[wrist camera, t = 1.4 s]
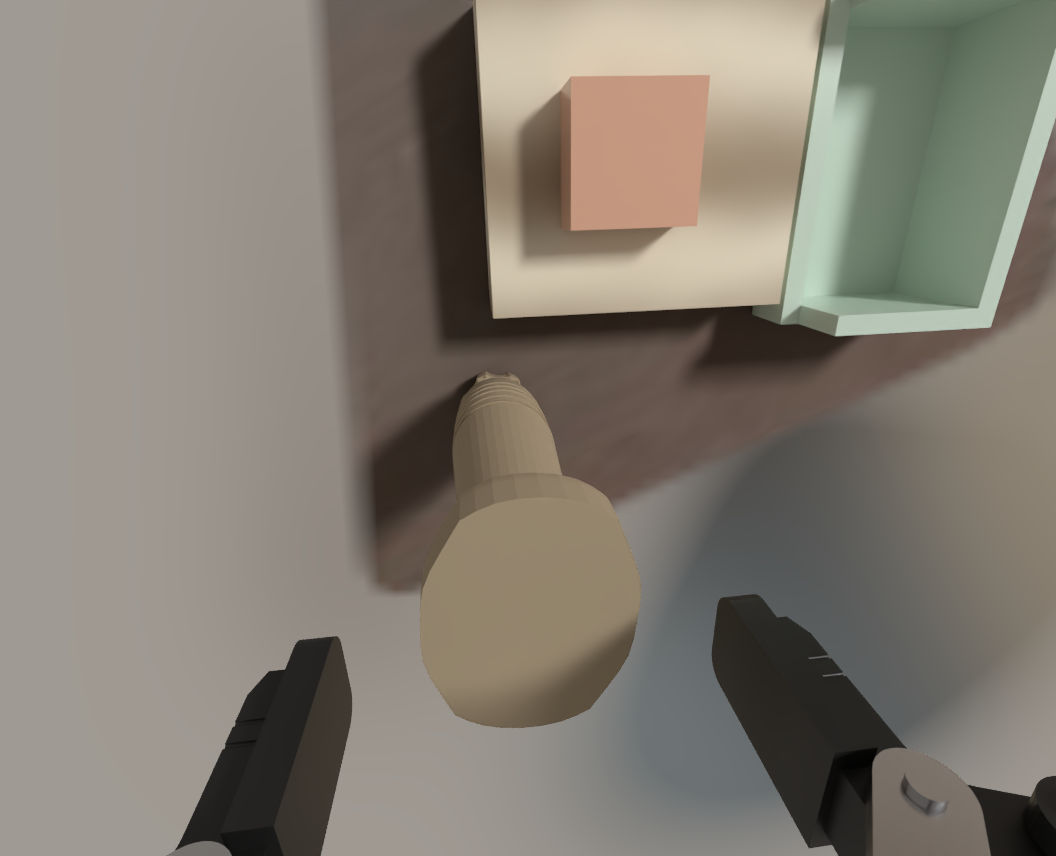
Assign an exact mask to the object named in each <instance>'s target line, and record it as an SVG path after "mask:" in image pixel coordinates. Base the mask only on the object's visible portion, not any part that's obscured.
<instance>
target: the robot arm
mask: <svg viewBox="0 0 1056 856" xmlns="http://www.w3.org/2000/svg"><path fill="white" fill-rule="evenodd" d="M712 662H713V667H714V671H715V675H716V678H717V680H718V682H719V684H720V686H721V688H722V690H723V691H724V693H725V695H726V697H727V699H728V701H729V703H730V704H731V706H732V708H733V710H734V712H735V714H736V715H737V717H738V719H739V721H740V722H741V725H742V726H743V728H744V730H745V732H746V734H747V735H748V737H749V739H750V741H751V743H752V745H753V747H754V748H755V750H756V752H757V754H758V756H759V757H760V759H761V761H762V763H763V765H764V767H765V769H766V770H767V772H768V774H769V776H770V778H771V779H772V781H773V783H774V785H775V787H776V789H777V791H778V792H779V794H780V796H781V798H782V800H783V801H784V803H785V805H786V807H787V809H788V811H789V812H790V814H791V816H792V818H793V820H794V821H795V823H796V825H797V827H798V829H799V831H800V833H801V835H802V836H803V838H804V840H805V842H806V844H807V845H808V847H809V848H813V847H820V846H827V845H833V847H834V849H835V850H836V852H837V854H838V856H1056V776H1051V777H1046V778H1044V779H1042V780H1040V781H1039V783H1038V784H1037V785H1036V788H1035V790H1034V792H1033V794H1032V796H1031V797H1028V796H1023V795H1017V794H1012V793H1007V792H1001V791H996V790H991V789H985V788H980V787H975V786H971V785H967V784H966V783H965V782H964V781H963V780H962V779H961V778H960V777H959V776H958V775H957V774H956V773H954V772H953V771H952V770H951V769H949V768H948V767H947V766H945V765H944V764H942V763H941V762H939V761H937V760H935V759H934V758H932V757H930V756H928V755H925V754H923V753H920V752H917V751H914V750H910V749H907V748H906V747H905V746H904V745H903V744H902V743H901V741H900V740H899V739H898V738H897V737H896V735H895V734H894V733H893V732H892V731H891V729H890V728H889V727H888V726H887V725H886V723H885V722H884V721H883V720H882V719H881V717H880V716H879V715H878V714H877V713H876V711H875V710H874V709H873V708H872V707H871V705H870V704H869V703H868V702H867V700H866V699H865V698H864V697H863V696H862V695H861V693H860V692H859V691H858V690H857V688H856V687H855V686H854V685H853V684H852V683H851V681H850V680H849V679H848V678H847V676H843V673H842V670H841V669H840V668H839V667H838V666H837V664H836V663H835V662H834V661H833V660H832V659H829V657H828V654H827V652H826V651H825V650H824V649H823V648H822V646H821V645H820V644H819V643H818V642H817V640H816V639H815V638H814V637H813V636H812V634H811V633H809V632H808V631H806V630H805V629H804V628H802V627H801V626H799V625H798V624H796V623H795V622H793V621H792V620H791V619H789V618H788V617H779V618H777V617H776V616H775V614H774V613H773V612H772V610H771V609H770V608H769V607H768V605H767V604H766V603H765V602H764V600H763V599H762V598H761V597H760V596H758V595H756V594H752V595H742V596H734V597H733V596H732V597H724V598H721V599H720V600H719V602H718V607H717V615H716V623H715V630H714V638H713V646H712ZM351 716H352V693H351V687H350V683H349V679H348V673H347V669H346V664H345V659H344V655H343V651H342V646H341V642H340V639H339V638H338V637H337V636H335V637H325V638H316V639H306V640H299V641H298V642H297V643H296V645H295V647H294V649H293V651H292V654H291V656H290V659H289V662H288V664H287V666H286V669H285V670H277V671H269V672H268V673H267V674H266V675H265V676H264V677H263V679H262V680H261V681H260V682H259V683H258V684H257V685H256V686H255V687H254V688H253V690H252V691H251V692H250V693H249V694H248V695H247V698H246V699H245V702H244V704H243V706H242V708H241V711H240V713H239V715H238V717H237V719H236V721H235V722H236V724H235V727H233V728H232V730H231V732H230V734H229V737H228V739H227V741H226V743H225V745H226V746H225V749H223V750H222V752H221V754H220V757H219V759H218V761H217V763H216V765H215V767H214V769H213V772H212V774H211V776H210V778H209V781H208V783H207V785H206V787H205V789H204V791H203V793H202V796H201V798H200V800H199V802H198V804H197V807H196V809H195V811H194V813H193V816H192V818H191V820H190V822H189V824H188V826H187V829H186V831H185V833H184V835H183V837H182V839H181V841H180V843H179V845H178V847H177V848H176V850H175V851H174V852H172V853H171V854H169V855H167V856H321V851H322V846H323V843H324V838H325V834H326V829H327V825H328V821H329V816H330V812H331V807H332V803H333V799H334V794H335V790H336V785H337V781H338V776H339V772H340V768H341V764H342V759H343V755H344V750H345V746H346V741H347V737H348V733H349V728H350V723H351Z"/></svg>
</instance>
